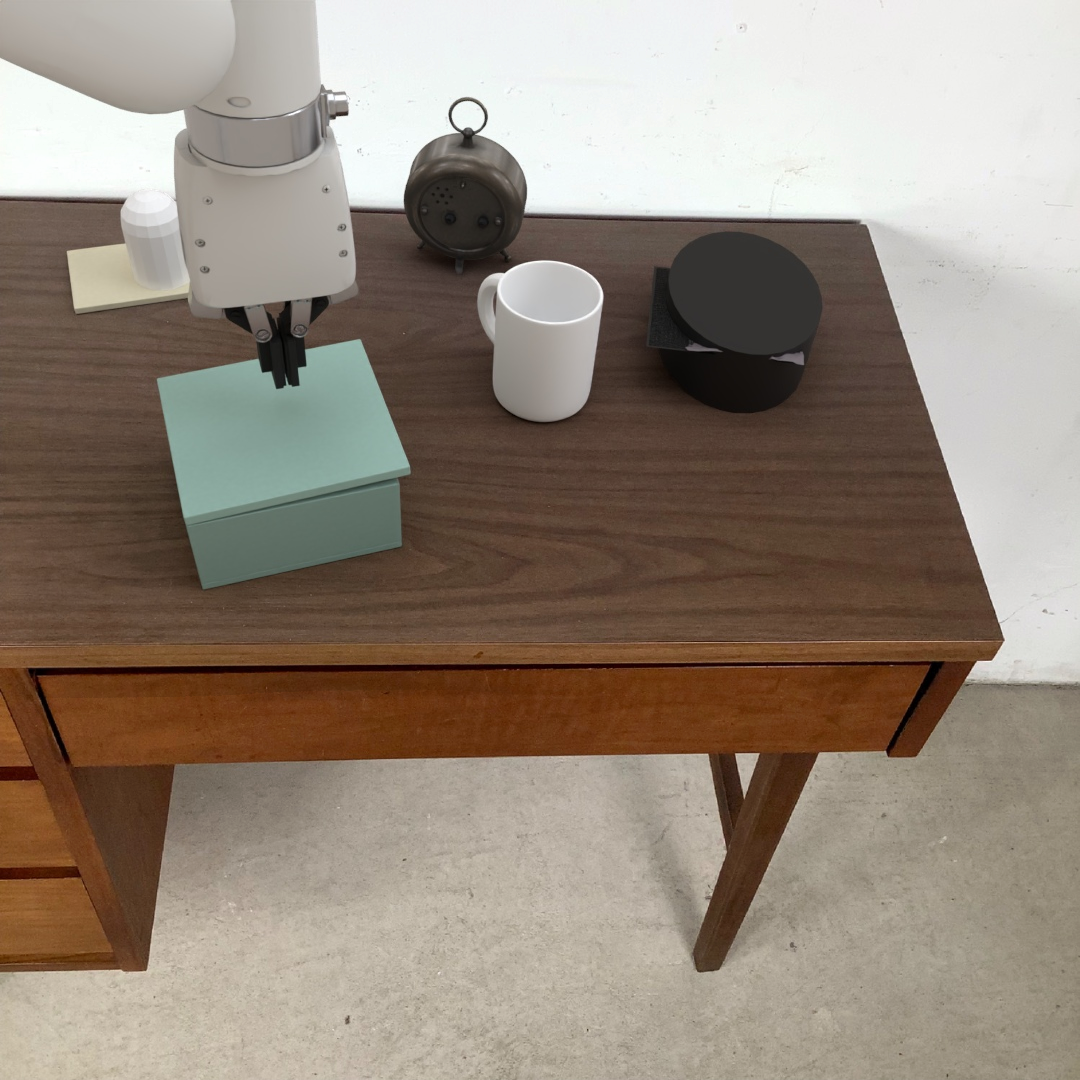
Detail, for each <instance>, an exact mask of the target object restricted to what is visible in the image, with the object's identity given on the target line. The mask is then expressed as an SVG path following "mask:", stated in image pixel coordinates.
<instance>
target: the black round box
mask: <svg viewBox="0 0 1080 1080" xmlns="http://www.w3.org/2000/svg"><path fill="white" fill-rule="evenodd" d="M652 275H653V277H652V284H651V295H650V303H649V305H650V306H649V314H648V323H647V326H648V327H647V334H646V346H645V347H646V348H647V347H648V348H656V349H658V353H659V355H660V358H661V361H662V364H663V366H664V367H665V369H666V370H667V372H668V374H669V376H670V377H671V378H672V380H673V381H674V382H675V383H676V384H677V385H678V386H679V387H680V389H682V390H683V391H684V392H686V393H687V394H688V395H689V396H690V397H692V398H693V399H695V400H697V401H699V402H701V403H703V404H704V405H706V406H709V407H712V408H715V409H718V410H720V411H725V412H730V413H736V414H747V413H748V414H753V413H757V412H764V411H767V410H769V409H772V408H775V407H777V406H779V405H780V404H782V403H783V402H784V401H787V399H789V398H790V397H791V395H793V393H794V392H795V391H796V390H797V388H798V387H799V385H800V382H801V380H802V378H803V376H804V372H805V369H806V366H807V363H808V360H809V356H810V354H811V350H812V347H813V343H814V340H815V338H816V334H817V331H818V328H819V325H820V322H821V318H822V314H823V313H822V312H823V297H822V294H821V293H822V292H821V289H820V286H819V283H818V282H817V280H816V278H815V276H814V274H813V273H812V271H811V270H810V269H809V268H808V267H807V265H806V264H805V262H803V261H802V260H801V259H800V257H798V256H797V255H796V254H795V253H794V252H792V251H791V250H789V249H788V248H786V247H784V246H783V245H782V244H779V243H778V242H775V241H773V240H771V239H769V238H767V237H763V236H761V235H757V234H754V233H749V232H743V231H729V230H726V231H718V232H717V231H716V232H711V233H708V234H705V235H702V236H699V237H697V238H695V239H693V240H691V241H689V242H688V243H687V244H686V245H684V246H683V247H682V248H681V249H680V250H679V251H678V253H677V254H676V256H675V257H674V259H673V261H672V263H671V266H670V267H665V266H656V265H653V274H652Z"/></svg>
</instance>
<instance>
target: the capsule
mask: <svg viewBox="0 0 1080 1080" xmlns="http://www.w3.org/2000/svg"><path fill="white" fill-rule="evenodd" d="M120 226H121V231H122V234H123V239H124V244H125V243H126V247H127V251H128V255H129V259H130V263H131V267H132V271H133V275H134V279H135V281H136V282H137V283H138V284H139V285H140V286H142V287H145V288H147V289H150V290H158V291H164V290H172V289H176V288H178V287H181V286H184V285H185V284H187V283H188V282H189V281H190V279H189V274H188V270H187V268H186V264H185V261H184V256H183V250H182V244H181V237H180V230H179V222H178V214H177V205H176V199H174V198H173V197H171V196H170V195H169V194H168V193H167V192H165V191H162V190H159V189H151V188H145V189H141V190H138V191H136V192H133V193H131V194H130V195H128V196H127V198H126V199H125V201H124V203H123V205H122V206H121V209H120Z"/></svg>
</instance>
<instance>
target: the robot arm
mask: <svg viewBox="0 0 1080 1080" xmlns="http://www.w3.org/2000/svg"><path fill="white" fill-rule="evenodd" d="M317 17H318V16H317V3H316V0H0V59H2V60H4V61H5V62H8V63H10V64H13V65H15V66H16V67H19V68H22V69H23V70H25V71H28V72H30V73H32V74H35V75H37V76H40V77H42V78H45V79H47V80H49V81H51V82H54V83H56V84H59V85H60V86H63V87H66V88H68V89H70V90H72V91H74V92H77V93H79V94H81V95H84V96H86V97H88V98H91V99H93V100H96V101H99V102H101V103H104V104H106V105H108V106H111V107H114V108H115V109H119V110H122V111H125V112H130V113H134V114H135V113H136V114H142V115H143V114H144V115H168V114H171V113H176V112H180V111H183V115H184V121H185V128H183V129H181V131H179V132H178V133H177V134H176V136H175V137H174V148H173V178H174V180H173V181H174V195H175V201H176V205H177V214H178V222H179V230H180V237H181V244H182V250H183V256H184V261H185V264H186V268H187V270H188V274H189V279H190V285H189V293H188V298H187V303H188V308H189V312H190V315H192V316H193V317H194V318H200V319H201V318H202V319H216V320H222V319H227V320H228V321H230V322H231V323H232V324H234V325H236V326H238V327H239V328H241V329H243V330H245V331H246V332H248V333H249V334H251V335H252V336H253V339H254V340H255V342H256V349H257V356H258V359H259V363H260V367H261V371H262V373H265V372H271V373H272V376H273V380H274V383H275V387H276V389H282V388H284V386H286V378H287V381H288V385H292V387H295V386H300V383H299V373H298V368H300V367H306V366H307V363H306V352H305V350H306V341H305V337H306V336H307V335H308V334H309V332H310V326H311V325H312V324H313V323H314V322H315V320H317V319H318V317H319V316H320V315H321V314H322V313H323V312H324V311H326V309H327V308H328V307H329V305H333V306H334V305H336V304H339V303H343V302H345V301H349V300H351V299H355V298H356V297H357V296H358V295H359V294H360V287H359V285H358V281H357V280H356V274H357V260H356V249H355V242H354V241H355V240H354V232H353V224H352V217H351V216H352V215H351V208H350V202H349V201H350V200H349V194H348V189H347V184H346V180H345V174H344V168H343V164H342V161H341V160H342V159H341V155H340V151H339V147H338V143H337V139H336V136H335V134H334V130H333V128H332V127H331V125H330V123H331V122H330V121H335V120H336V119H337V117H338V118H339V117H348V116H349V114H350V113H349V111H350V109H349V101H348V95H347V93H346V91H345V90H344V91H333V89H326V88H325V85H324V83H322V81H321V80H322V79H321V65H320V48H319V47H320V46H319V34H318V32H319V31H318V18H317ZM282 302H283V303H282ZM273 303H282V309H283V310H282V311H281V312H278V317H276V318H274V317H273V315H272V314H271V313H270V312H269V311H267V309H266V307H265V304H273ZM285 375H286V376H285Z"/></svg>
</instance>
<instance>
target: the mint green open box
mask: <svg viewBox="0 0 1080 1080" xmlns="http://www.w3.org/2000/svg"><path fill="white" fill-rule="evenodd" d="M400 485H401V483H400V481H399V479H398V477H396V478H392V479H388V480H383V481H379V482H375V483H370V484H366V485H361V486H357V487H353V488H348V489H344V490H340V491H335V492H331V493H326V494H322V495H318V496H313V497H309V498H305V499H300V500H296V501H292V502H287V503H283V504H278V505H274V506H270V507H265V508H261V509H257V510H252V511H248V512H243V513H239V514H235V515H230V516H226V517H222V518H217V519H213V520H208V521H204V522H200V523H195V524H191V525H186V524H185V529H186V532H187V537H188V539H189V544H190V547H191V550H192V555H193V558H194V562H195V566H196V570H197V573H198V577H199V581H200V584H201V588H202V590H208V589H214V588H218V587H222V586H226V585H232V584H236V583H240V582H245V581H250V580H255V579H259V578H264V577H268V576H272V575H278V574H281V573H286V572H291V571H296V570H300V569H305V568H309V567H314V566H318V565H323V564H327V563H332V562H336V561H340V560H346V559H351V558H356V557H361V556H364V555H370V554H374V553H378V552H383V551H387V550H393V549H397V548H402V546H403V541H402V540H403V539H402V515H401V512H402V511H401V486H400Z"/></svg>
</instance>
